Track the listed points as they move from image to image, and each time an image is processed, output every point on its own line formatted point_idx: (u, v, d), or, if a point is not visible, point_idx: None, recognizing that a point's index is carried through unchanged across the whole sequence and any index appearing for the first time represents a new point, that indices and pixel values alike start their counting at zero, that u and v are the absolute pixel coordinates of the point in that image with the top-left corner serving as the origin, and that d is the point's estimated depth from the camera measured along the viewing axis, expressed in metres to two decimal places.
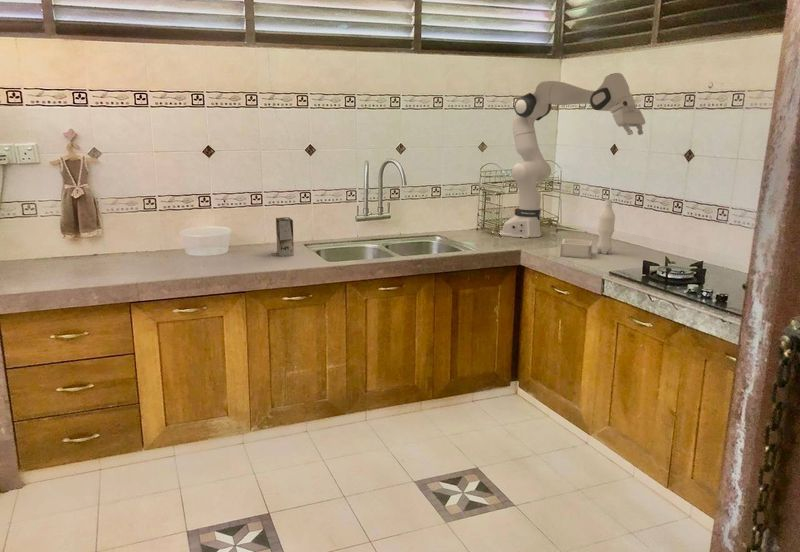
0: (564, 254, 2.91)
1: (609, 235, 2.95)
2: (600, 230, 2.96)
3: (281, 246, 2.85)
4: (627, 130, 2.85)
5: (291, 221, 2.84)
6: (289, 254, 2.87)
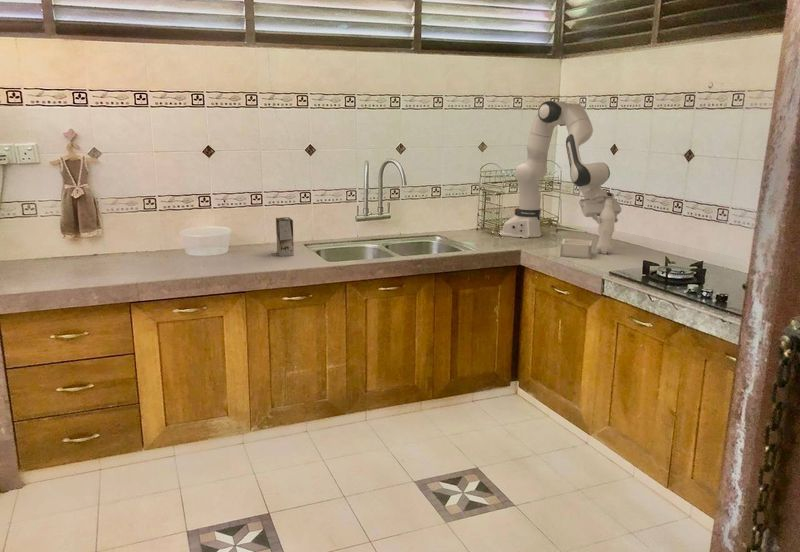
0: (564, 254, 2.91)
1: (609, 235, 2.95)
2: (600, 230, 2.96)
3: (281, 246, 2.85)
4: None
5: (291, 221, 2.84)
6: (289, 254, 2.87)
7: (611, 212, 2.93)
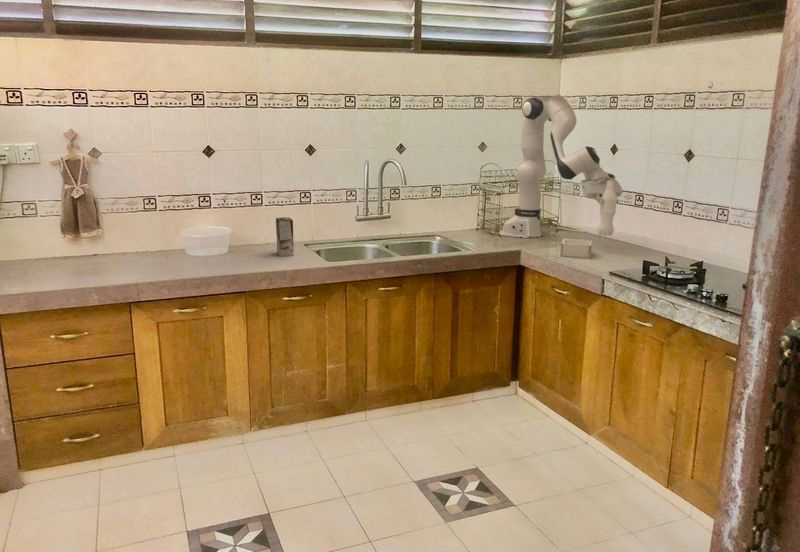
0: (564, 254, 2.91)
1: (611, 217, 2.93)
2: (602, 211, 2.94)
3: (281, 246, 2.85)
4: None
5: (291, 221, 2.84)
6: (289, 254, 2.87)
7: (613, 193, 2.91)
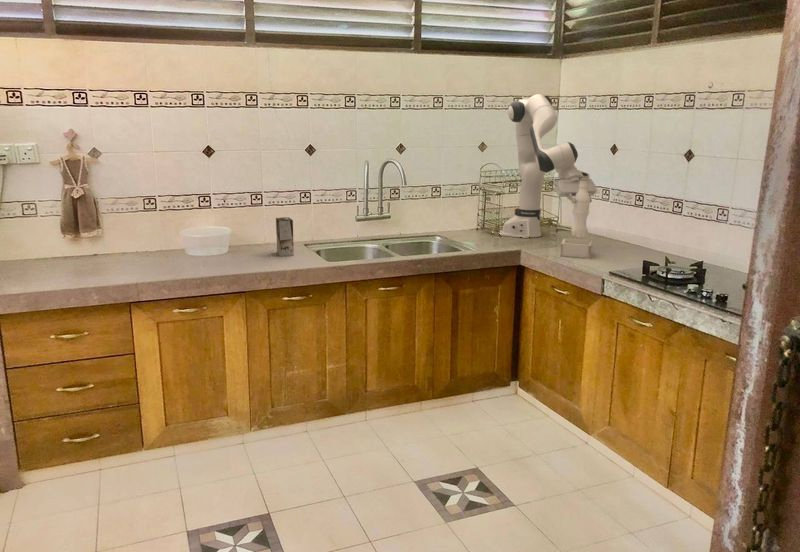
0: (564, 254, 2.91)
1: (584, 217, 2.89)
2: (575, 212, 2.90)
3: (281, 246, 2.85)
4: None
5: (291, 221, 2.84)
6: (289, 254, 2.87)
7: (585, 194, 2.87)
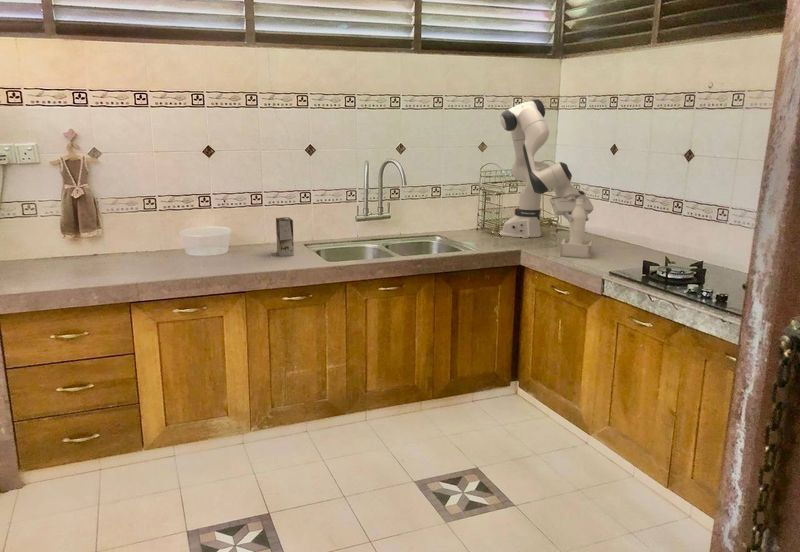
0: (564, 254, 2.91)
1: (579, 234, 2.91)
2: (571, 229, 2.92)
3: (281, 246, 2.85)
4: None
5: (291, 221, 2.84)
6: (289, 254, 2.87)
7: (582, 211, 2.89)
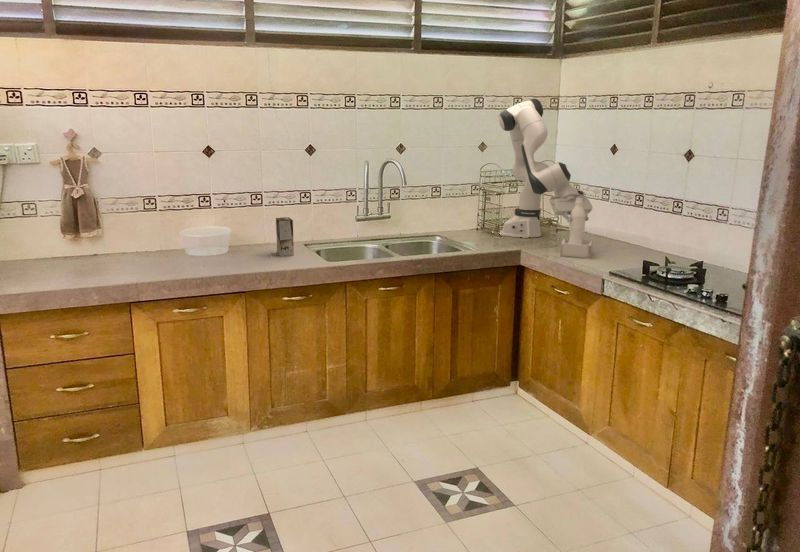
0: (564, 254, 2.91)
1: (579, 233, 2.91)
2: (570, 228, 2.93)
3: (281, 246, 2.85)
4: None
5: (291, 221, 2.84)
6: (289, 254, 2.87)
7: (581, 210, 2.90)
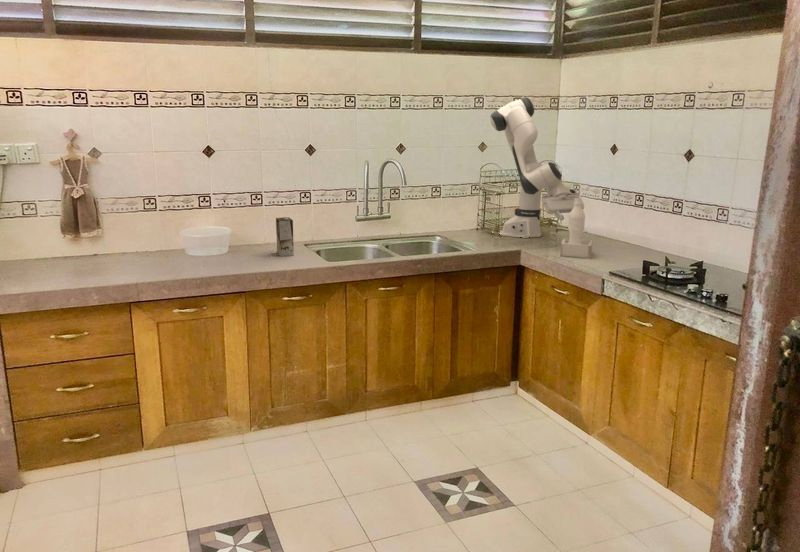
0: (564, 254, 2.91)
1: (579, 234, 2.91)
2: (570, 229, 2.92)
3: (281, 246, 2.85)
4: None
5: (291, 221, 2.84)
6: (289, 254, 2.87)
7: (580, 211, 2.89)
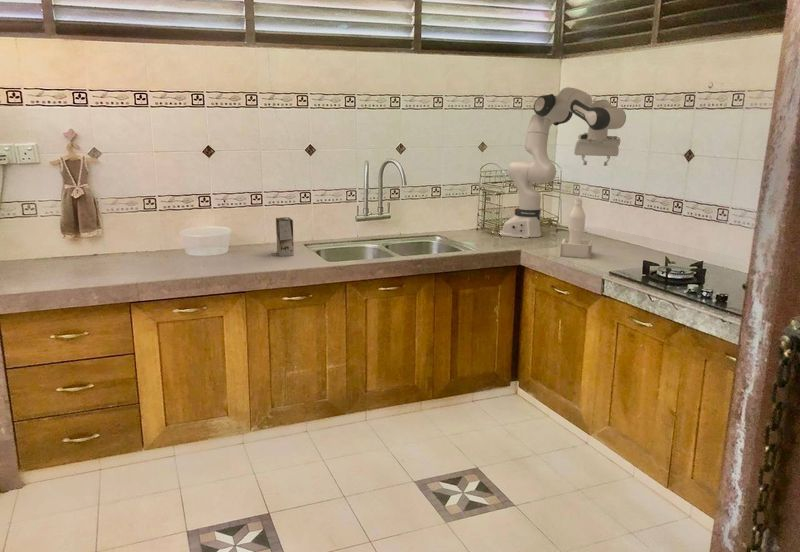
0: (564, 254, 2.91)
1: (579, 235, 2.91)
2: (570, 229, 2.92)
3: (281, 246, 2.85)
4: (583, 160, 3.09)
5: (291, 221, 2.84)
6: (289, 254, 2.87)
7: (581, 211, 2.89)
